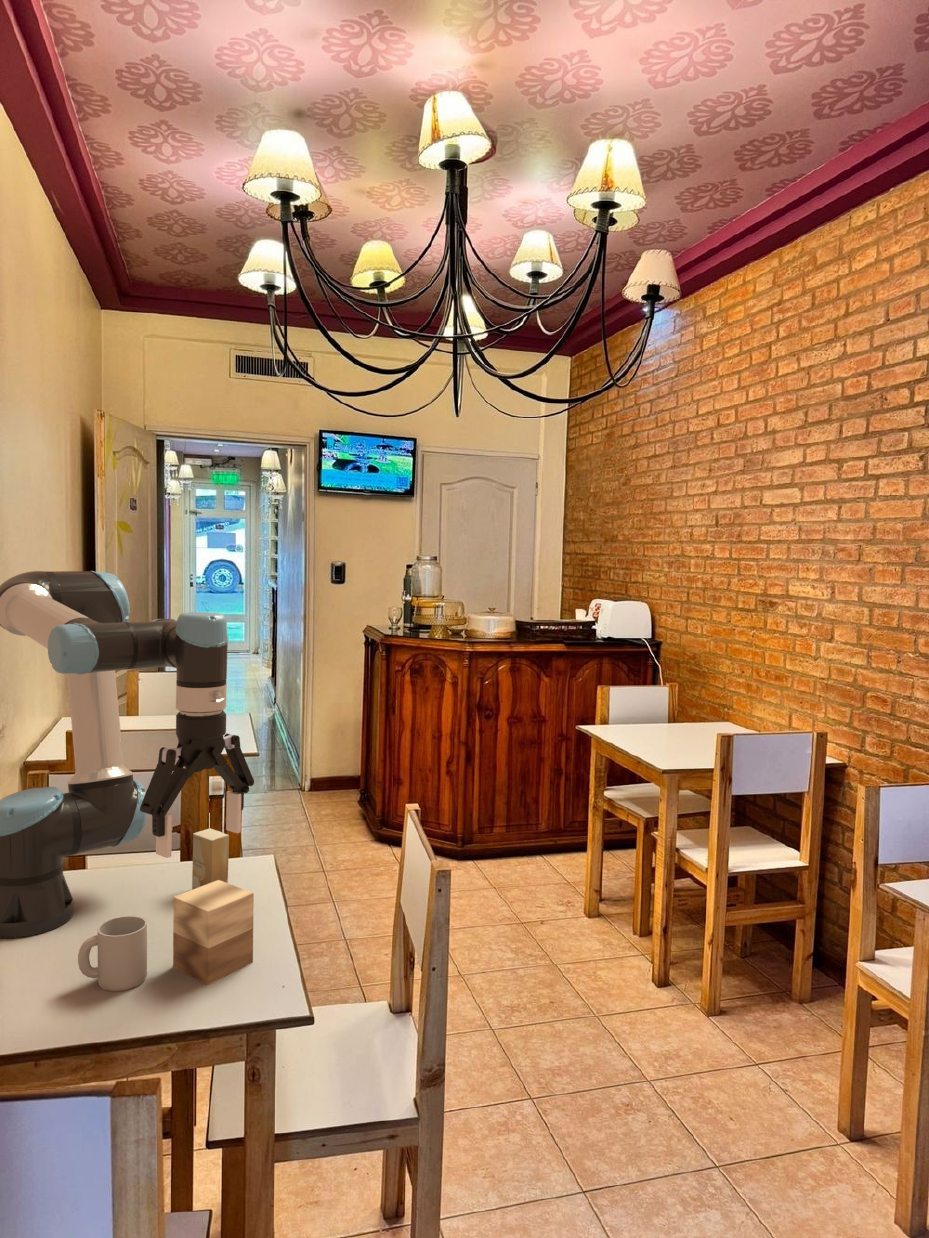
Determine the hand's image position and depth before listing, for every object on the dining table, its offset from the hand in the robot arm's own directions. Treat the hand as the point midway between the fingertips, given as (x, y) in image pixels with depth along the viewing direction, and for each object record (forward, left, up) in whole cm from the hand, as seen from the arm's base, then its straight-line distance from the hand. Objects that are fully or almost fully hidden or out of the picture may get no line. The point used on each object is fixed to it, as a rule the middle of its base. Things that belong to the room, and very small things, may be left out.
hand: (200, 842), depth 128 cm
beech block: (-1, +4, -16) cm, 17 cm away
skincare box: (-25, +22, -22) cm, 40 cm away
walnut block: (-1, +4, -22) cm, 23 cm away
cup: (-9, -9, -22) cm, 26 cm away
